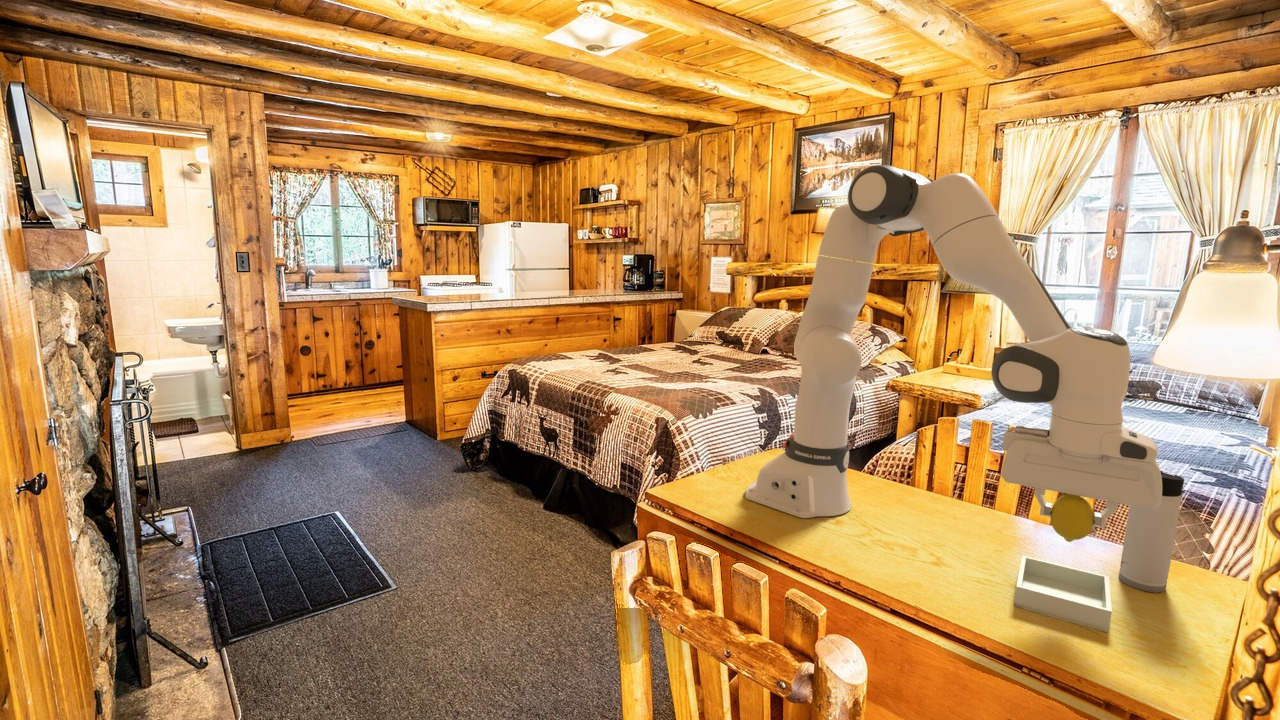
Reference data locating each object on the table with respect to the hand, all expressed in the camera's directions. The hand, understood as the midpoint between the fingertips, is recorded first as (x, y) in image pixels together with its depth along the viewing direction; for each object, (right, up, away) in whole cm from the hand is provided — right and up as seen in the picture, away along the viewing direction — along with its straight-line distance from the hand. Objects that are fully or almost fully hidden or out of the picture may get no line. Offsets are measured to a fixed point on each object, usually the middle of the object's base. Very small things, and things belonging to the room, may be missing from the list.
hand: (1071, 520), depth 98 cm
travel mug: (+17, -13, +8) cm, 23 cm away
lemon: (0, -4, +1) cm, 4 cm away
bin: (0, -13, +2) cm, 14 cm away
